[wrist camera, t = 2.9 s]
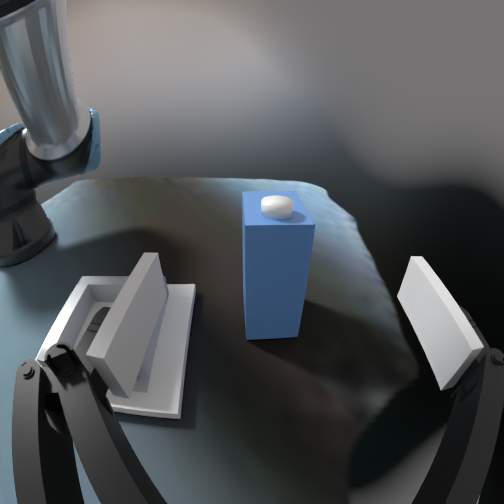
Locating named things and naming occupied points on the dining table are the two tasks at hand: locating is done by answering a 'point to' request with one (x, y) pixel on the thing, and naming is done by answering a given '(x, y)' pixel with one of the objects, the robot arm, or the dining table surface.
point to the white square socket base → (158, 351)
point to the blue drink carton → (275, 262)
